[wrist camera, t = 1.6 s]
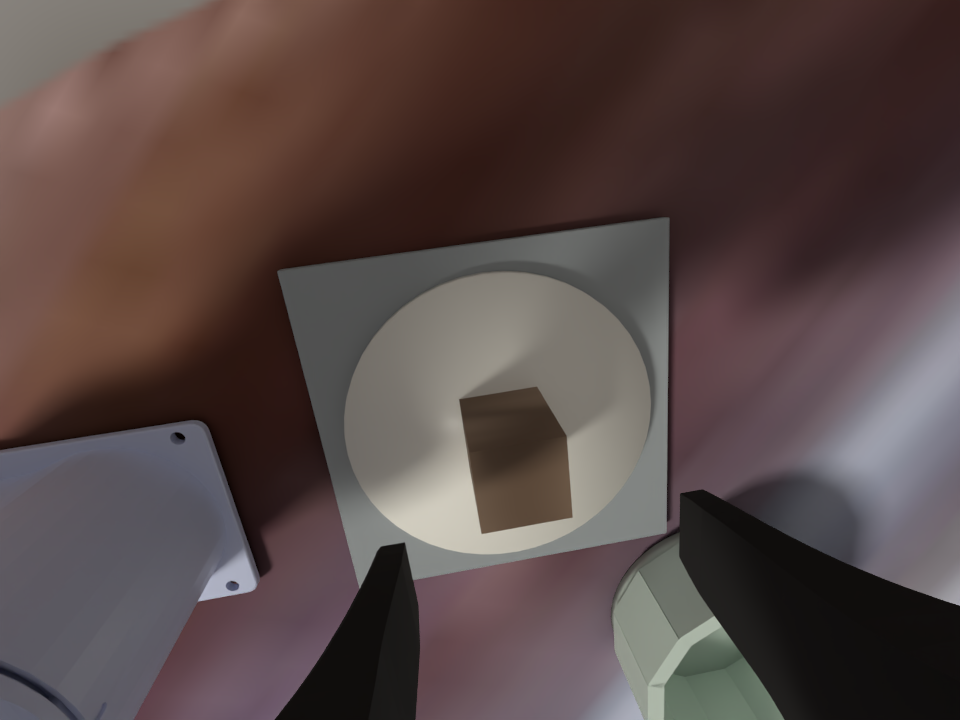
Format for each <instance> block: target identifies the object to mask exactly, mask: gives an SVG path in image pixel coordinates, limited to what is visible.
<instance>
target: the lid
mask: <svg viewBox="0 0 960 720" xmlns="http://www.w3.org/2000/svg"><path fill="white" fill-rule="evenodd" d="M650 411H651V397H650V385H649V380H648V376H647V371H646V367H645V365H644V362H643V359H642V357H641V354H640V352H639V349H638V348H637V346H636V344H635V342H634V341H633V339H632V337H631V335H630V334H629V332H628V331H627V330H626V329H625V327H624V326H623V325H622V324H621V322H620V321H619V320H618V319H617V318H616V317H615V316H614V315H613V314H612V313H611V312H610V311H609V310H608V309H607V308H606V307H605V306H603V305H602V304H601V303H599V302H598V301H596V300H595V299H593V298H592V297H591V296H589V295H588V294H586V293H585V292H583V291H581V290H579V289H577V288H575V287H573V286H571V285H569V284H567V283H565V282H563V281H560V280H557V279H554V278H551V277H548V276H545V275H539V274H534V273H529V272H522V271H491V272H480V273H476V274H471V275H466V276H462V277H458V278H455V279H453V280H450V281H447V282H444V283H441V284H439V285H437V286H435V287H433V288H431V289H429V290H427V291H425V292H423V293H421V294H420V295H418V296H417V297H415V298H414V299H412V300H411V301H409V302H408V303H406V304H405V305H404V306H402V307H401V308H400V309H399V310H398V311H397V312H396V313H394V314H393V315H392V316H391V317H390V318H389V319H388V320H387V321H386V322H385V323H384V324H383V326H382V327H381V328H380V329H379V330H378V331H377V333H376V334H375V335H374V336H373V338H372V339H371V341H370V342H369V344H368V346H367V347H366V349H365V350H364V352H363V354H362V356H361V358H360V360H359V362H358V365H357V367H356V369H355V371H354V374H353V377H352V380H351V383H350V387H349V390H348V394H347V397H346V405H345V413H344V436H345V442H346V448H347V454H348V457H349V460H350V463H351V466H352V469H353V472H354V474H355V476H356V478H357V480H358V482H359V484H360V486H361V488H362V489H363V491H364V492H365V494H366V495H367V497H368V498H369V499H370V501H371V502H372V503H373V504H374V506H375V507H376V508H377V509H378V510H379V511H380V512H381V513H382V514H383V515H384V516H385V517H386V518H387V519H389V520H390V521H391V522H392V523H393V524H395V525H396V526H397V527H399V528H400V529H402V530H403V531H405V532H407V533H408V534H410V535H411V536H413V537H415V538H417V539H420V540H422V541H424V542H426V543H428V544H431V545H434V546H437V547H440V548H443V549H447V550H452V551H457V552H462V553H471V554H503V553H511V552H518V551H522V550H526V549H530V548H535V547H538V546H540V545H543V544H546V543H549V542H552V541H554V540H556V539H558V538H560V537H562V536H564V535H567V534H569V533H570V532H572V531H574V530H575V529H577V528H578V527H580V526H582V525H583V524H585V523H586V522H587V521H589V520H590V519H591V518H593V517H594V516H595V515H596V514H598V513H599V512H600V511H601V510H602V509H603V508H604V507H605V506H606V505H607V504H608V503H609V502H610V501H611V500H612V499H613V498H614V497H615V496H616V494H617V493H618V492H619V491H620V489H621V488H622V487H623V486H624V484H625V483H626V481H627V479H628V478H629V476H630V475H631V473H632V472H633V470H634V468H635V466H636V464H637V462H638V460H639V458H640V455H641V453H642V450H643V447H644V444H645V441H646V438H647V433H648V428H649V423H650Z"/></svg>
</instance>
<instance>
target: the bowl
mask: <svg viewBox="0 0 960 720" xmlns="http://www.w3.org/2000/svg"><path fill="white" fill-rule="evenodd" d="M679 533H680V532H678V533H676V534H674V535H672V536H670V537H668V538H666V539H664V540H662V541H661V542H659V543H657V544H656V545H654V546H653V547H652V548H650V549H649V550H648V551H646V552H645V553H644V554H643V555H642V556H641V557H640V558H638V559H637V560H636V561H635V563H634V564H633V565H632V566H631V567H630V568H629V569H628V571H627V572H626V574H625V575H624V577H623V578H622V580H621V582H620V584H619V585H618V587H617V590H616V592H615V595H614V598H613V602H612V607H611V622H612V628H613V631H614V644H615V653H616V655H617V657H618V660H619V662H620V664H621V667H622V669H623V671H624V674H625V676H626V678H627V681H628V683H629V685H630V688H631V690H632V692H633V695H634V697H635V699H636V702H637V704H638V706H639V709H640V711H641V713H642V716H643V718H644V720H784V718H783V717H782V715H781V713H780V711H779V710H778V708H777V706H776V705H775V703H774V701H773V700H772V698H771V696H770V695H769V693H768V692H767V690H766V689H765V687H764V686H763V684H762V683H761V681H760V680H759V678H758V677H757V675H756V674H755V672H754V671H753V670H752V668H751V667H750V665H749V664H748V663H747V661H746V660H745V658H744V657H743V655H742V654H741V653H740V651H739V650H738V648H737V647H736V646H735V644H734V643H733V641H732V640H731V639H730V637H729V636H728V634H727V633H726V632H725V630H724V629H723V627H722V626H721V625H720V623H719V622H718V620H717V619H716V617H715V616H714V615H713V613H712V612H711V610H710V609H709V607H708V606H707V605H706V603H705V602H704V600H703V599H702V597H701V596H700V594H699V593H698V591H697V589H696V587H695V586H694V584H693V582H692V580H691V578H690V577H689V575H688V573H687V571H686V569H685V567H684V565H683V563H682V561H681V559H680V558H679Z"/></svg>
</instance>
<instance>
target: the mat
mask: <svg viewBox="0 0 960 720" xmlns="http://www.w3.org/2000/svg"><path fill="white" fill-rule="evenodd" d="M491 271H522V272H529V273H534V274H539V275H545V276H548V277H551V278H554V279H557V280H560V281H563V282H565V283H567V284H569V285H571V286H573V287H575V288H577V289H579V290H581V291H583V292H585V293H586V294H588V295H589V296H591V297H592V298H593V299H595V300H596V301H598V302H599V303H601V304H602V305H603V306H605V307H606V308H607V309H608V310H609V311H610V312H611V313H612V314H613V315H614V316H615V317H616V318H617V319H618V320H619V321H620V322H621V324H622V325H623V326H624V327H625V329H626V330H627V331H628V332H629V334H630V335H631V337H632V339H633V341H634V342H635V344H636V346H637V348H638V349H639V352H640V354H641V357H642V359H643V362H644V365H645V367H646V371H647V376H648V380H649V385H650V397H651V411H650V423H649V428H648V433H647V438H646V441H645V444H644V447H643V450H642V453H641V455H640V458H639V460H638V462H637V464H636V466H635V468H634V470H633V472H632V473H631V475H630V476H629V478H628V479H627V481H626V483H625V484H624V486H623V487H622V488H621V489H620V491H619V492H618V493H617V494H616V496H615V497H614V498H613V499H612V500H611V501H610V502H609V503H608V504H607V505H606V506H605V507H604V508H603V509H602V510H601V511H600V512H599V513H598V514H596V515H595V516H594V517H593V518H591V519H590V520H589V521H587V522H586V523H585V524H583V525H582V526H580V527H578V528H577V529H575V530H574V531H572V532H570V533H569V534H567V535H564V536H562V537H560V538H558V539H556V540H554V541H552V542H549V543H546V544H543V545H540V546H538V547H535V548H530V549H526V550H522V551H518V552H511V553H503V554H471V553H462V552H457V551H452V550H447V549H443V548H440V547H437V546H434V545H431V544H428V543H426V542H424V541H422V540H420V539H417V538H415V537H413V536H411V535H410V534H408V533H407V532H405V531H403V530H402V529H400V528H399V527H397V526H396V525H395V524H393V523H392V522H391V521H390V520H389V519H387V518H386V517H385V516H384V515H383V514H382V513H381V512H380V511H379V510H378V509H377V508H376V507H375V506H374V504H373V503H372V502H371V501H370V499H369V498H368V497H367V495H366V494H365V492H364V491H363V489H362V488H361V486H360V484H359V482H358V480H357V478H356V476H355V474H354V472H353V469H352V466H351V463H350V460H349V457H348V454H347V448H346V442H345V436H344V413H345V405H346V397H347V394H348V390H349V387H350V383H351V380H352V377H353V374H354V371H355V369H356V367H357V365H358V362H359V360H360V358H361V356H362V354H363V352H364V350H365V349H366V347H367V346H368V344H369V342H370V341H371V339H372V338H373V336H374V335H375V334H376V333H377V331H378V330H379V329H380V328H381V327H382V326H383V324H384V323H385V322H386V321H387V320H388V319H389V318H390V317H391V316H392V315H393V314H394V313H396V312H397V311H398V310H399V309H400V308H401V307H402V306H404V305H405V304H406V303H408V302H409V301H411V300H412V299H414V298H415V297H417V296H418V295H420V294H421V293H423V292H425V291H427V290H429V289H431V288H433V287H435V286H437V285H439V284H441V283H444V282H447V281H450V280H453V279H455V278H458V277H462V276H466V275H471V274H476V273H480V272H491ZM277 273H278V277H279V280H280V284H281V288H282V292H283V296H284V300H285V304H286V307H287V311H288V315H289V319H290V323H291V327H292V330H293V334H294V338H295V342H296V346H297V350H298V354H299V357H300V361H301V365H302V369H303V373H304V377H305V380H306V384H307V388H308V392H309V396H310V400H311V404H312V407H313V411H314V415H315V419H316V423H317V427H318V430H319V434H320V438H321V442H322V446H323V450H324V453H325V457H326V461H327V465H328V469H329V473H330V477H331V480H332V484H333V488H334V492H335V496H336V500H337V503H338V507H339V511H340V515H341V519H342V523H343V527H344V530H345V534H346V538H347V542H348V546H349V550H350V553H351V557H352V561H353V565H354V569H355V573H356V577H357V580H358V584H359V588H360V587H361V585H362V583H363V581H364V579H365V577H366V575H367V573H368V571H369V569H370V566H371V564H372V562H373V560H374V557H375V555H376V553H377V551H378V549H379V548H380V547H381V546H386V545H392V544H398V543H403V542H405V545H406V549H407V554H408V559H409V564H410V568H411V573H412V578H413V580H416V579H421V578H427V577H432V576H437V575H443V574H448V573H454V572H459V571H464V570H470V569H475V568H481V567H486V566H491V565H497V564H502V563H508V562H513V561H518V560H524V559H529V558H535V557H540V556H545V555H551V554H556V553H561V552H567V551H572V550H578V549H583V548H588V547H594V546H599V545H605V544H610V543H615V542H621V541H626V540H632V539H637V538H642V537H648V536H653V535H659V534H664V533H666V530H667V425H668V321H669V218H668V217H660V218H652V219H645V220H638V221H631V222H623V223H616V224H609V225H601V226H594V227H587V228H579V229H572V230H565V231H557V232H550V233H543V234H535V235H528V236H521V237H514V238H506V239H499V240H492V241H484V242H477V243H470V244H462V245H455V246H448V247H440V248H433V249H426V250H418V251H411V252H404V253H396V254H389V255H382V256H375V257H367V258H360V259H353V260H345V261H338V262H331V263H323V264H316V265H309V266H301V267H294V268H287V269H281V270H279V271H277Z"/></svg>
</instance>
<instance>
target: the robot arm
mask: <svg viewBox="0 0 960 720" xmlns="http://www.w3.org/2000/svg"><path fill="white" fill-rule="evenodd" d="M175 432H180V433H182V434H183V435H184V436H185V440H181V439H179V438H177V436H176V435H175ZM679 558H680V559H681V561H682V563H683V565H684V567H685V569H686V571H687V573H688V575H689V577H690V578H691V580H692V582H693V584H694V586H695V587H696V589H697V591H698V593H699V594H700V596H701V597H702V599H703V600H704V602H705V603H706V605H707V606H708V607H709V609H710V610H711V612H712V613H713V615H714V616H715V617H716V619H717V620H718V622H719V623H720V625H721V626H722V627H723V629H724V630H725V632H726V633H727V634H728V636H729V637H730V639H731V640H732V641H733V643H734V644H735V646H736V647H737V648H738V650H739V651H740V653H741V654H742V655H743V657H744V658H745V660H746V661H747V663H748V664H749V665H750V667H751V668H752V670H753V671H754V672H755V674H756V675H757V677H758V678H759V680H760V681H761V683H762V684H763V686H764V687H765V689H766V690H767V692H768V693H769V695H770V696H771V698H772V700H773V701H774V703H775V705H776V706H777V708H778V710H779V711H780V713H781V715H782V717H783V718H784V720H960V606H959V605H956V604H952V603H949V602H946V601H943V600H940V599H937V598H935V597H932V596H929V595H926V594H923V593H920V592H917V591H914V590H912V589H909V588H906V587H903V586H901V585H898V584H895V583H893V582H890V581H887V580H885V579H882V578H880V577H877V576H875V575H873V574H870V573H868V572H865V571H863V570H861V569H858V568H856V567H853V566H851V565H849V564H846V563H844V562H842V561H840V560H837V559H835V558H833V557H831V556H829V555H827V554H825V553H822V552H820V551H818V550H816V549H814V548H812V547H810V546H808V545H806V544H804V543H802V542H800V541H798V540H796V539H794V538H792V537H790V536H788V535H786V534H784V533H782V532H780V531H779V530H777V529H775V528H773V527H771V526H769V525H767V524H766V523H764V522H762V521H760V520H758V519H756V518H755V517H753V516H751V515H749V514H747V513H746V512H744V511H742V510H740V509H738V508H737V507H735V506H733V505H731V504H729V503H728V502H726V501H724V500H722V499H720V498H718V497H717V496H715V495H713V494H711V493H709V492H707V491H705V490H697V491H691V492H686V493H680V533H679ZM259 580H260V577H259V573H258V570H257V567H256V564H255V561H254V558H253V555H252V553H251V550H250V547H249V544H248V541H247V538H246V535H245V532H244V529H243V526H242V524H241V521H240V518H239V515H238V512H237V509H236V506H235V503H234V500H233V497H232V495H231V492H230V489H229V486H228V483H227V480H226V477H225V474H224V471H223V468H222V465H221V463H220V460H219V457H218V454H217V451H216V448H215V445H214V442H213V439H212V436H211V434H210V431H209V429H208V427H207V425H205V424H204V423H203V422H201V421H198V420H189V421H183V422H176V423H170V424H164V425H157V426H151V427H145V428H138V429H132V430H125V431H119V432H113V433H106V434H100V435H93V436H87V437H81V438H74V439H68V440H62V441H55V442H49V443H42V444H36V445H30V446H23V447H17V448H10V449H4V450H0V720H134V718H135V716H136V714H137V712H138V711H139V709H140V707H141V705H142V703H143V701H144V699H145V698H146V696H147V694H148V692H149V690H150V688H151V687H152V685H153V683H154V681H155V679H156V677H157V675H158V674H159V672H160V670H161V668H162V666H163V664H164V663H165V661H166V659H167V657H168V655H169V653H170V652H171V650H172V648H173V646H174V644H175V642H176V640H177V639H178V637H179V635H180V633H181V631H182V629H183V628H184V626H185V624H186V622H187V620H188V618H189V616H190V615H191V613H192V611H193V609H194V607H195V605H196V604H197V602H198V601H203V600H208V599H214V598H219V597H225V596H230V595H236V594H241V593H247V592H250V591H253V590H254V589H255V588H256V587H257V584H258V582H259ZM230 581H235V582H237V583H238V584H234V583H231V582H230ZM419 655H420V634H419V609H418V601H417V597H416V592H415V587H414V582H413V578H412V573H411V568H410V564H409V559H408V554H407V549H406V545H405V542H403V543H398V544H392V545H386V546H381V547H380V548H379V549H378V551H377V553H376V555H375V557H374V560H373V562H372V564H371V566H370V569H369V571H368V573H367V575H366V577H365V579H364V581H363V583H362V585H361V587H360V589H359V591H358V593H357V595H356V597H355V599H354V601H353V603H352V604H351V606H350V608H349V610H348V612H347V614H346V616H345V617H344V619H343V621H342V623H341V624H340V626H339V628H338V629H337V631H336V633H335V634H334V636H333V638H332V639H331V641H330V643H329V644H328V646H327V647H326V649H325V651H324V652H323V654H322V655H321V657H320V658H319V660H318V661H317V663H316V665H315V666H314V667H313V669H312V670H311V672H310V673H309V675H308V676H307V678H306V679H305V680H304V682H303V683H302V685H301V686H300V687H299V689H298V690H297V691H296V693H295V694H294V695H293V697H292V698H291V699H290V701H289V702H288V703H287V704H286V706H285V707H284V708H283V710H282V711H281V712H280V714H279V715H278V716H277V717H276V719H275V720H415V717H416V702H417V687H418V671H419Z"/></svg>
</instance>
